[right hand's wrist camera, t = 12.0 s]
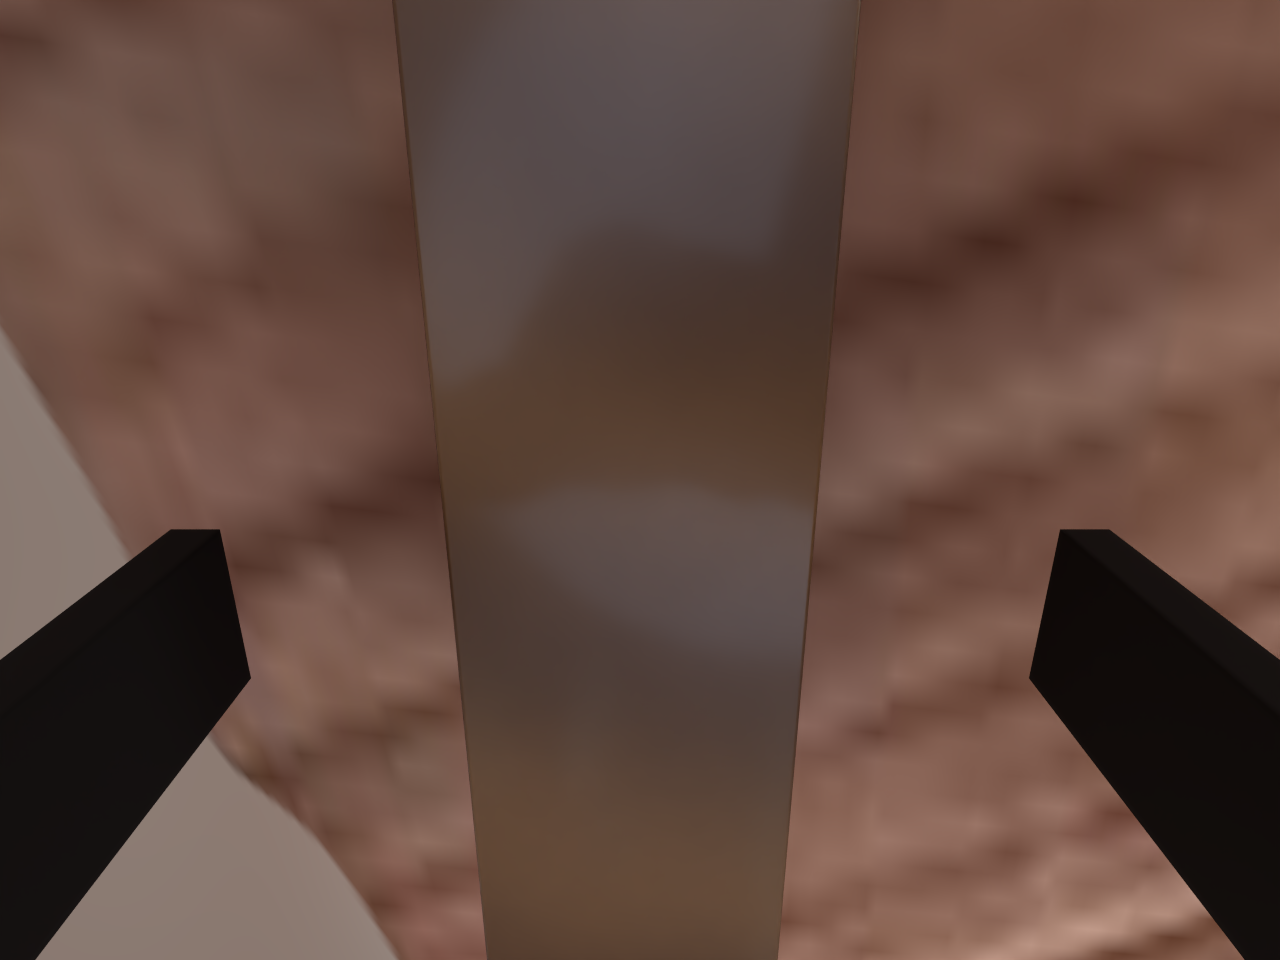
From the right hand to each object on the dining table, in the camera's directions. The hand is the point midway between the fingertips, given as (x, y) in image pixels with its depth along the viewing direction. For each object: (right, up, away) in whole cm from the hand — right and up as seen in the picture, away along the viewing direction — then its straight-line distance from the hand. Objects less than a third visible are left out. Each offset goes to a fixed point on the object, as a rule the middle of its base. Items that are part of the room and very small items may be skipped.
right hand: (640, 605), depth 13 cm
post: (0, +28, -4) cm, 29 cm away
